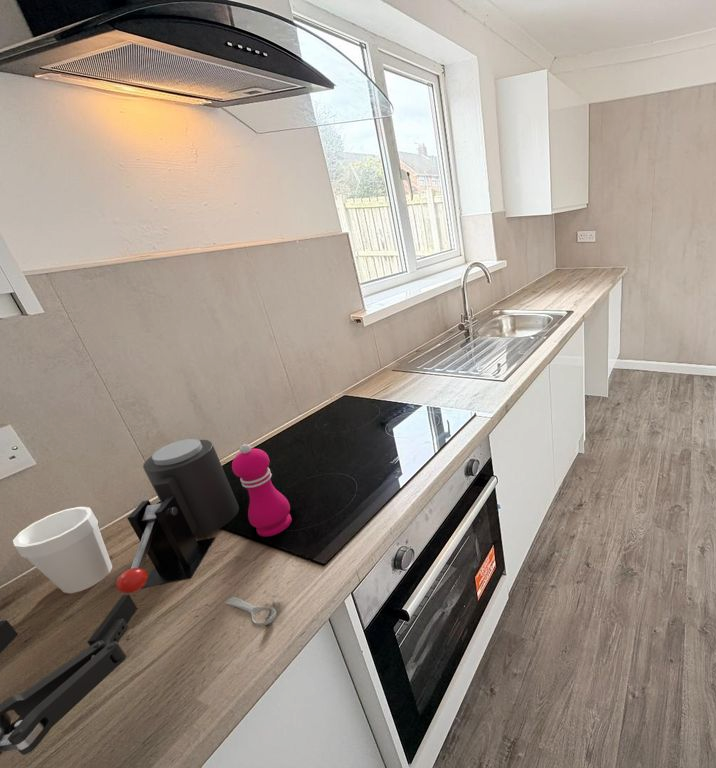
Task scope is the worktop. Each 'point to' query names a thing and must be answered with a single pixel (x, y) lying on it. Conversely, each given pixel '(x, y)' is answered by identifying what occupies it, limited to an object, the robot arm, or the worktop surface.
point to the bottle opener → (252, 609)
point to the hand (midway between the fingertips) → (71, 614)
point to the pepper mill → (261, 492)
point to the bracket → (170, 543)
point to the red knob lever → (140, 555)
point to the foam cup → (66, 549)
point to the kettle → (193, 484)
